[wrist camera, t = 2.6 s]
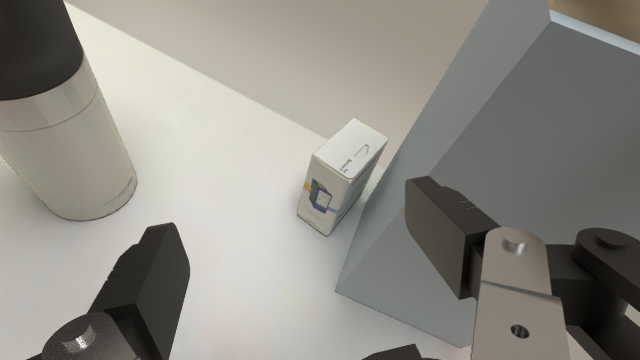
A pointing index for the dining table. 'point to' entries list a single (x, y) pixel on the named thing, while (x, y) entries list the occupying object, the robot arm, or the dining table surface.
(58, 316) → the dining table surface
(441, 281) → the stand
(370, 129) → the ink box
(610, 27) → the maple bar
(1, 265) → the dining table surface
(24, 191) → the dining table surface
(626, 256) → the robot arm
